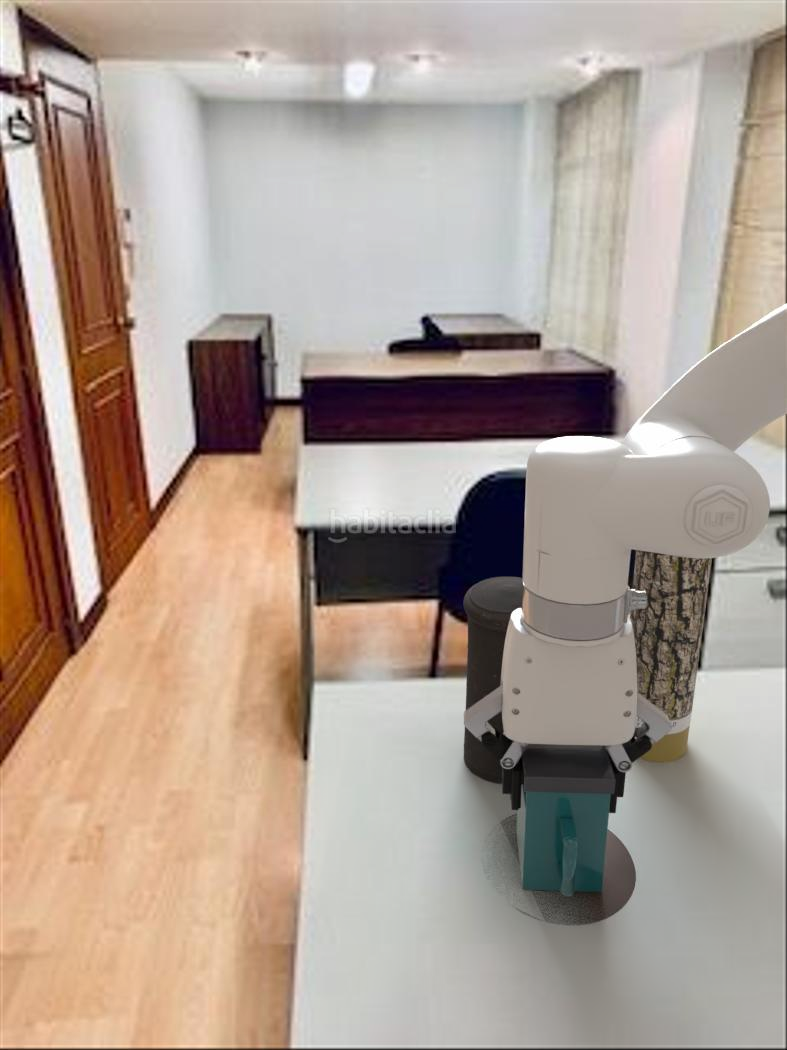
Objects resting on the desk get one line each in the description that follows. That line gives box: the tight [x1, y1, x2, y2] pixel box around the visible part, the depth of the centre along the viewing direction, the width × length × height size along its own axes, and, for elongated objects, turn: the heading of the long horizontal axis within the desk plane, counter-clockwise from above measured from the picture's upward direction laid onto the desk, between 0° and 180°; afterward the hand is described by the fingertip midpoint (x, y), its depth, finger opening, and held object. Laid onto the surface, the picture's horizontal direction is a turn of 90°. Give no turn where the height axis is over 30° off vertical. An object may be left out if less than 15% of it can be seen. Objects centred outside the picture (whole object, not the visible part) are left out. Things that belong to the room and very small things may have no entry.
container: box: [462, 576, 523, 785], centre depth 75 cm, size 9×9×20 cm
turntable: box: [481, 813, 637, 926], centre depth 65 cm, size 13×13×1 cm
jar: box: [515, 744, 615, 898], centre depth 62 cm, size 9×7×11 cm
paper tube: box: [629, 550, 713, 763], centre depth 76 cm, size 7×7×25 cm
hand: (560, 798), depth 62 cm, fingers closed on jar, 6 cm apart
